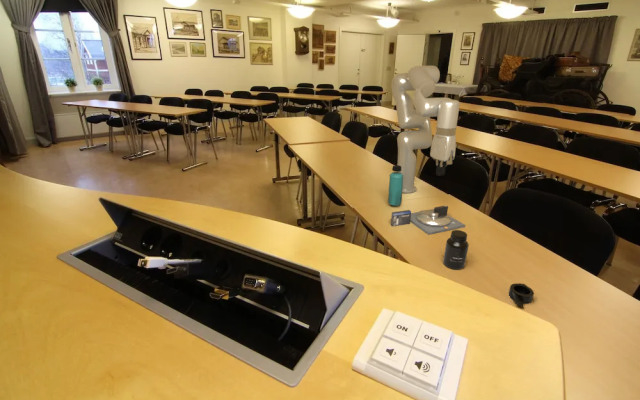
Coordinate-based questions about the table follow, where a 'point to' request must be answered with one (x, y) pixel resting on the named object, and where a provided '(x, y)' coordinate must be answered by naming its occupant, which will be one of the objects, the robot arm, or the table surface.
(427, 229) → the dial plate
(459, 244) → the supplement bottle
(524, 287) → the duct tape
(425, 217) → the dial
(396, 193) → the beverage bottle
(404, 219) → the mini dv tape
